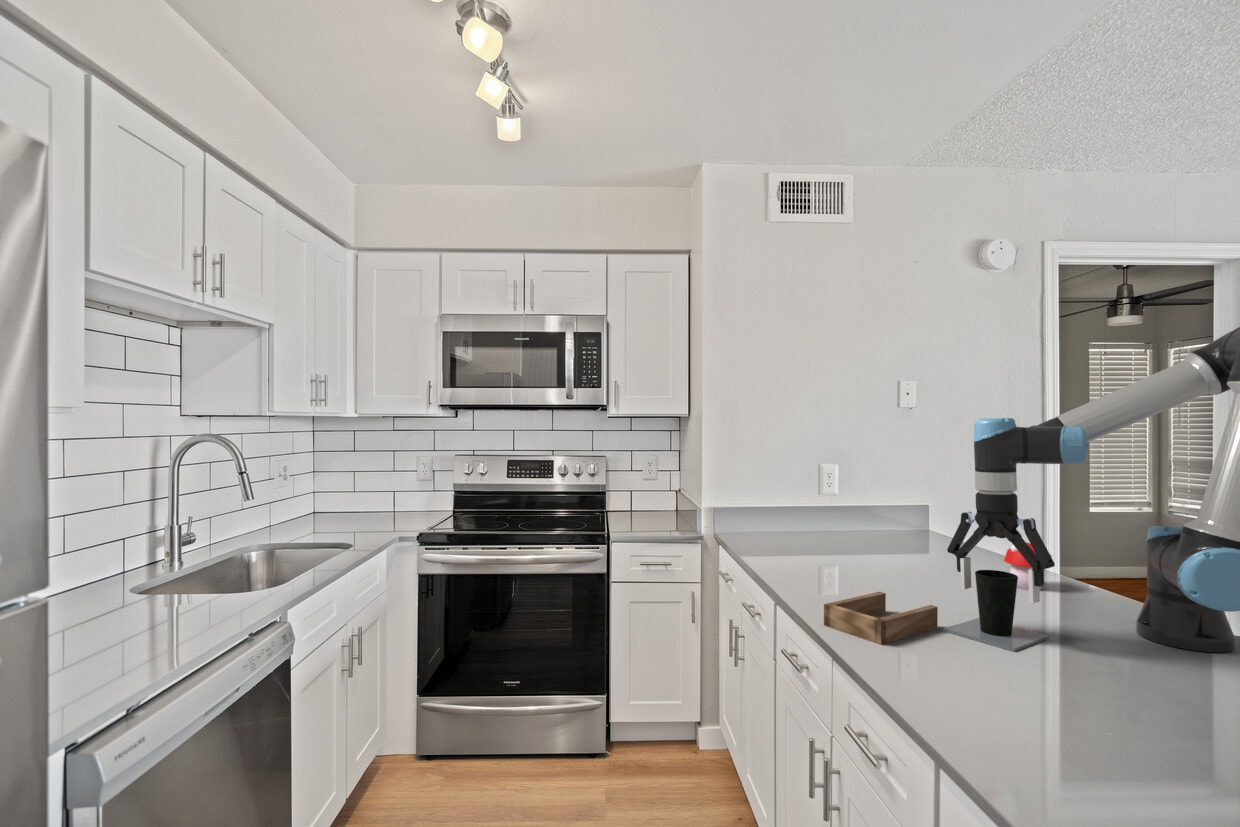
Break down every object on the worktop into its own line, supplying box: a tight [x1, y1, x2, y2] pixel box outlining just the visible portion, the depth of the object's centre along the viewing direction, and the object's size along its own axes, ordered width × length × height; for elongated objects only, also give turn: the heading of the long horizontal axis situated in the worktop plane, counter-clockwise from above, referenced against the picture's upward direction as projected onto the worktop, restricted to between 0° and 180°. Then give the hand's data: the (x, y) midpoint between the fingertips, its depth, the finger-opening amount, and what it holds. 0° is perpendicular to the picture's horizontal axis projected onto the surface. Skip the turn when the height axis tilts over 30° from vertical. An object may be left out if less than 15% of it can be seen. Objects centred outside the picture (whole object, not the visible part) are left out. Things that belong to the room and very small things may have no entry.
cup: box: [974, 569, 1018, 637], centre depth 133 cm, size 8×8×12 cm
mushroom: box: [1003, 542, 1053, 591], centre depth 171 cm, size 11×11×12 cm
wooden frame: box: [823, 591, 939, 645], centre depth 138 cm, size 14×20×4 cm
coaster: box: [943, 617, 1050, 653], centre depth 133 cm, size 14×14×1 cm
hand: (998, 594), depth 133 cm, fingers open, 13 cm apart
